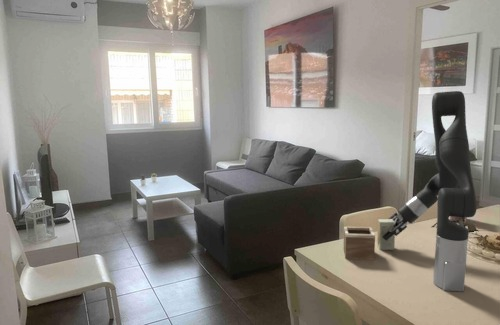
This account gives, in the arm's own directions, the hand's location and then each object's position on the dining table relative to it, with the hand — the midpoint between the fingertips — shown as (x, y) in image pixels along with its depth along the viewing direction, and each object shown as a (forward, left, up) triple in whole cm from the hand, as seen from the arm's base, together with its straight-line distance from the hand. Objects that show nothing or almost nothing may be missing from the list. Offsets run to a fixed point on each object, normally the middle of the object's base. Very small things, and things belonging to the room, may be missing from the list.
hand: (382, 235), depth 155 cm
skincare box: (0, -1, -6) cm, 6 cm away
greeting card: (+40, -46, -6) cm, 62 cm away
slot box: (-8, +11, -6) cm, 14 cm away
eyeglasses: (+25, -36, -6) cm, 45 cm away
